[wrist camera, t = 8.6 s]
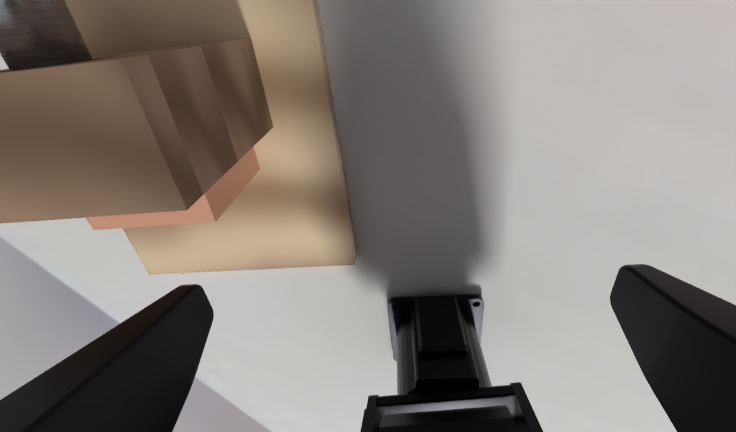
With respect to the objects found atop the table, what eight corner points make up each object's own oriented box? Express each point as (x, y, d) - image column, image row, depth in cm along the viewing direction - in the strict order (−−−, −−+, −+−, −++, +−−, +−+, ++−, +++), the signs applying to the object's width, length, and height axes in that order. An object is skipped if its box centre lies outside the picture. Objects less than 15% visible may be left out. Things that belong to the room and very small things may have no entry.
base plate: (356, 254, 22) (355, 264, 21) (157, 265, 23) (148, 274, 23) (263, -341, 10) (252, -373, 10) (-120, -248, 12) (-160, -268, 11)
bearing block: (273, 127, 17) (187, 210, 10) (127, 140, 18) (-53, 227, 11) (250, 37, 15) (121, 59, 8) (86, 57, 16) (-169, 94, 9)
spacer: (260, 169, 18) (215, 221, 14) (166, 176, 19) (93, 230, 14) (249, 132, 17) (197, 176, 12) (151, 141, 18) (66, 186, 13)
